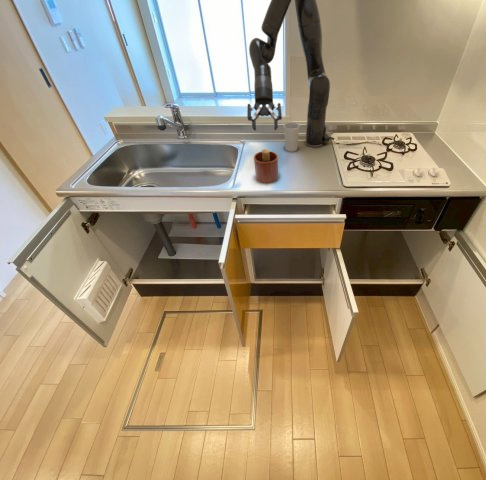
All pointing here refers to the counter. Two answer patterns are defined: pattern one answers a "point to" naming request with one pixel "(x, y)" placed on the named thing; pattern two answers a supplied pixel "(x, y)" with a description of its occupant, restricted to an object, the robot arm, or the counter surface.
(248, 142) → the counter surface
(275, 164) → the crock
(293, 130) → the cup
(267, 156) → the utensil
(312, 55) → the robot arm
